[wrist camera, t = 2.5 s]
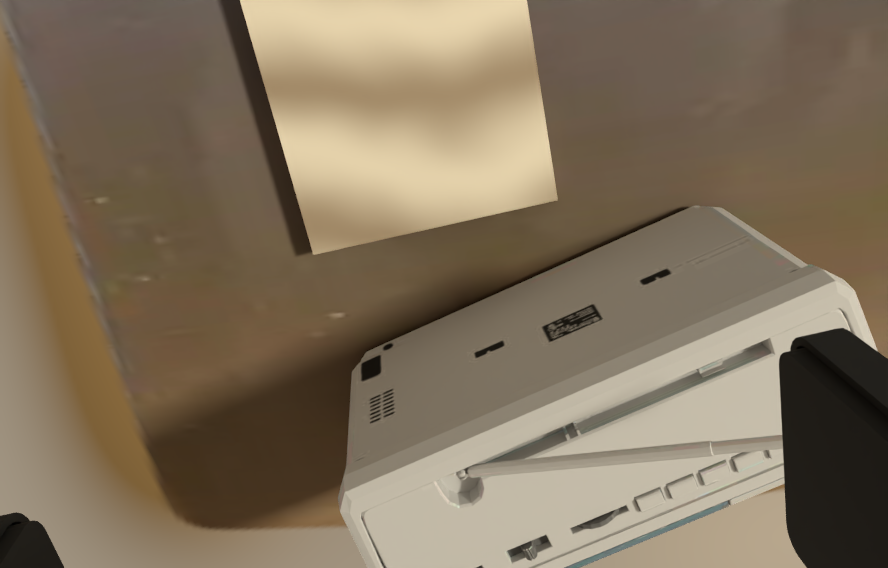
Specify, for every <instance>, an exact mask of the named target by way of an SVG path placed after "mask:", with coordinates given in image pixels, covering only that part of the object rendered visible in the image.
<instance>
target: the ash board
mask: <svg viewBox="0 0 888 568" xmlns="http://www.w3.org/2000/svg"><path fill="white" fill-rule="evenodd" d="M240 3H241V6H242V10H243V13H244V17H245V20H246V23H247V27H248V30H249V34H250V37H251V41H252V44H253V48H254V51H255V55H256V58H257V62H258V65H259V68H260V72H261V75H262V79H263V82H264V86H265V89H266V93H267V96H268V100H269V103H270V106H271V110H272V113H273V117H274V120H275V124H276V127H277V131H278V134H279V138H280V141H281V145H282V148H283V151H284V155H285V158H286V162H287V165H288V169H289V172H290V176H291V179H292V183H293V186H294V189H295V193H296V196H297V200H298V203H299V207H300V210H301V214H302V217H303V221H304V224H305V228H306V231H307V234H308V238H309V241H310V245H311V248H312V252H313V255H315V254H320V253H324V252H328V251H333V250H337V249H342V248H346V247H351V246H355V245H360V244H364V243H369V242H373V241H378V240H382V239H386V238H391V237H395V236H400V235H404V234H409V233H413V232H418V231H422V230H427V229H431V228H436V227H440V226H445V225H449V224H453V223H458V222H462V221H467V220H471V219H476V218H480V217H485V216H489V215H494V214H498V213H503V212H507V211H511V210H516V209H520V208H525V207H529V206H534V205H538V204H543V203H547V202H552V201H556V200H558V198H557V192H556V185H555V179H554V173H553V166H552V160H551V153H550V147H549V140H548V134H547V128H546V121H545V115H544V108H543V102H542V96H541V89H540V83H539V76H538V70H537V63H536V57H535V51H534V44H533V38H532V31H531V25H530V18H529V12H528V6H527V0H240Z"/></svg>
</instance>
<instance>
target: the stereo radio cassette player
mask: <svg viewBox="0 0 888 568" xmlns="http://www.w3.org/2000/svg"><path fill="white" fill-rule="evenodd" d="M837 328H844V329H847V330H849V331H850V332H852V333H853V334H854V335H856V336H857V337H858V338H860V339H861V340H862V341H864V342H865V343H867V344H868V345H869V346H871V347H872V348H873V349H875V350H876V351H877V348H876V345H875V343H874V340H873V337H872V335H871V332H870V330H869V327H868V324H867V322H866V319H865V316H864V314H863V311H862V309H861V306H860V303H859V301H858V298H857V296H856V293H855V290H854V289H853V288H852V287H851V286H850V285H849V284H848V283H847V282H846V281H845V280H843V279H841V278H839V277H837V276H835V275H833V274H831V273H829V272H827V271H825V270H823V269H821V268H819V267H816V266H814V265H811V264H810V265H807V264H806V263H804V262H803V261H801V260H800V259H798V258H797V257H795V256H794V255H792V254H791V253H789V252H788V251H786V250H785V249H783V248H782V247H780V246H778V245H777V244H775V243H774V242H772V241H771V240H769V239H768V238H766V237H765V236H763V235H762V234H760V233H759V232H757V231H756V230H754V229H753V228H751V227H750V226H748V225H747V224H745V223H744V222H742V221H741V220H739V219H738V218H736V217H735V216H733V215H732V214H730V213H729V212H727V211H726V210H724V209H723V208H720V207H707V206H701V207H700V206H692V207H690V208H687V209H685V210H683V211H681V212H678V213H676V214H674V215H672V216H669V217H667V218H665V219H663V220H661V221H658V222H656V223H654V224H652V225H649V226H647V227H645V228H643V229H640V230H638V231H636V232H634V233H631V234H629V235H627V236H625V237H622V238H620V239H618V240H616V241H613V242H611V243H609V244H607V245H604V246H602V247H600V248H598V249H595V250H593V251H591V252H589V253H587V254H584V255H582V256H580V257H578V258H575V259H573V260H571V261H569V262H566V263H564V264H562V265H560V266H557V267H555V268H553V269H551V270H548V271H546V272H544V273H542V274H539V275H537V276H535V277H533V278H530V279H528V280H526V281H524V282H521V283H519V284H517V285H515V286H513V287H510V288H508V289H506V290H504V291H501V292H499V293H497V294H495V295H492V296H490V297H488V298H486V299H483V300H481V301H479V302H477V303H474V304H472V305H470V306H468V307H465V308H463V309H461V310H459V311H457V312H454V313H452V314H450V315H448V316H445V317H443V318H441V319H439V320H436V321H434V322H432V323H430V324H427V325H425V326H423V327H421V328H418V329H416V330H414V331H412V332H409V333H407V334H405V335H403V336H400V337H398V338H396V339H394V340H391V341H389V342H387V343H385V344H383V345H380V346H378V347H376V348H374V349H371V350H369V351H367V352H366V353H365V354H364V357H363V358H362V359H361V362H360V363H359V364H358V365H357V366H356V367H355V368H354V370H353V371H352V377H351V394H350V411H349V428H348V445H347V462H346V469H345V473H344V477H343V480H342V484H341V488H340V491H339V495H338V502H339V508H340V513H341V515H342V517H343V519H344V521H345V523H346V525H347V527H348V529H349V531H350V533H351V535H352V537H353V539H354V541H355V543H356V545H357V547H358V549H359V551H360V553H361V555H362V557H363V560H364V561H365V564H366V566H367V568H580V567H582V566H584V565H587V564H589V563H592V562H594V561H597V560H599V559H601V558H604V557H606V556H609V555H611V554H614V553H616V552H619V551H621V550H623V549H626V548H628V547H631V546H633V545H636V544H638V543H640V542H643V541H645V540H648V539H650V538H653V537H655V536H657V535H660V534H662V533H665V532H667V531H670V530H672V529H674V528H677V527H679V526H682V525H684V524H687V523H689V522H692V521H694V520H697V519H699V518H702V517H704V516H706V515H709V514H711V513H714V512H716V511H718V510H721V509H723V508H726V507H728V506H729V504H730V505H733V504H735V503H738V502H740V501H743V500H745V499H748V498H750V497H753V496H755V495H757V494H760V493H762V492H765V491H767V490H770V489H772V488H774V487H777V486H779V485H782V484H784V483H785V481H784V461H783V440H782V419H781V399H780V378H779V359H780V355H781V354H782V353H784V352H788V351H790V347H791V344H792V341H793V340H794V339H795V338H797V337H801V336H806V335H810V334H815V333H819V332H824V331H828V330H833V329H837ZM877 352H878V351H877Z"/></svg>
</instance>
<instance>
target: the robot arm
mask: <svg viewBox="0 0 888 568" xmlns="http://www.w3.org/2000/svg"><path fill="white" fill-rule="evenodd" d="M779 378H780V399H781V419H782V440H783V461H784V481H785V501H786V523H787V530H788V534H789V537H790V540H791V543H792V545H793V547H794V549H795V551H796V553H797V554H798V556H799V558H800V559H801V560H802V562H803V563H804V564H805V566H806V567H807V568H888V359H887V358H886V357H884V356H883V355H882V354H880V353H879V352H877V351H876V350H875V349H873V348H872V347H871V346H869V345H868V344H867V343H865V342H864V341H862V340H861V339H860V338H858V337H857V336H856V335H854V334H853V333H852V332H850V331H849V330H847V329H844V328H837V329H833V330H828V331H824V332H819V333H815V334H810V335H806V336H801V337H797V338H795V339H794V340H793V341H792V344H791V347H790V351H788V352H784V353H782V354H781V355H780V359H779ZM0 568H64V566H63V564H62V562H61V560H60V558H59V556H58V554H57V552H56V550H55V548H54V546H53V544H52V542H51V540H50V538H49V536H48V534H47V532H46V530H45V528H44V527H43V525H42V524H40V523H39V522H38V521H29V519H28V518H27V517H25V516H24V515H23V514H21V513H11V514H7V515H2V516H0Z"/></svg>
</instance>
